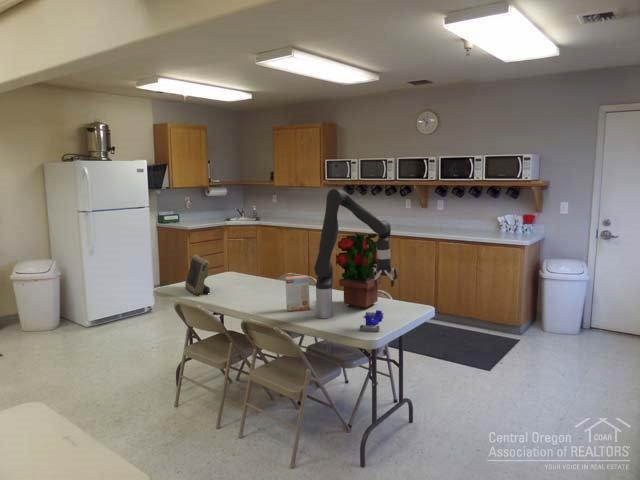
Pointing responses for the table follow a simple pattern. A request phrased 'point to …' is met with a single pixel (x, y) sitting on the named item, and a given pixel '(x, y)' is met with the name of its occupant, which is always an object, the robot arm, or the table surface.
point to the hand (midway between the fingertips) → (384, 286)
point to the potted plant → (358, 270)
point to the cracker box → (297, 293)
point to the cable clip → (376, 319)
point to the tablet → (197, 275)
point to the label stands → (368, 327)
